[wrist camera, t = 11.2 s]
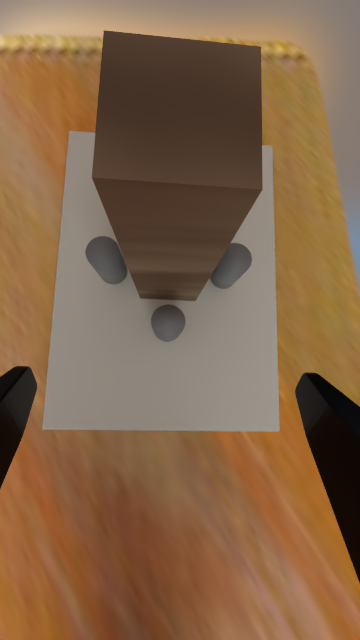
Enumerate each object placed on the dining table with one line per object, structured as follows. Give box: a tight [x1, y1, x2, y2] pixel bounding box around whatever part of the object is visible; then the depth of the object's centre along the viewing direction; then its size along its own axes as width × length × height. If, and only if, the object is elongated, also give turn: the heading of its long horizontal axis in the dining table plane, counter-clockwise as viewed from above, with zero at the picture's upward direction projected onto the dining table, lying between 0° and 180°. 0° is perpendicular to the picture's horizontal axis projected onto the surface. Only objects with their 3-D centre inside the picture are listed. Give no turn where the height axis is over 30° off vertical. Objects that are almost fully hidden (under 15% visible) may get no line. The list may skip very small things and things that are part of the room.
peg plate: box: [42, 131, 279, 432], centre depth 18 cm, size 22×16×5 cm
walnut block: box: [92, 31, 263, 301], centre depth 13 cm, size 4×4×13 cm
